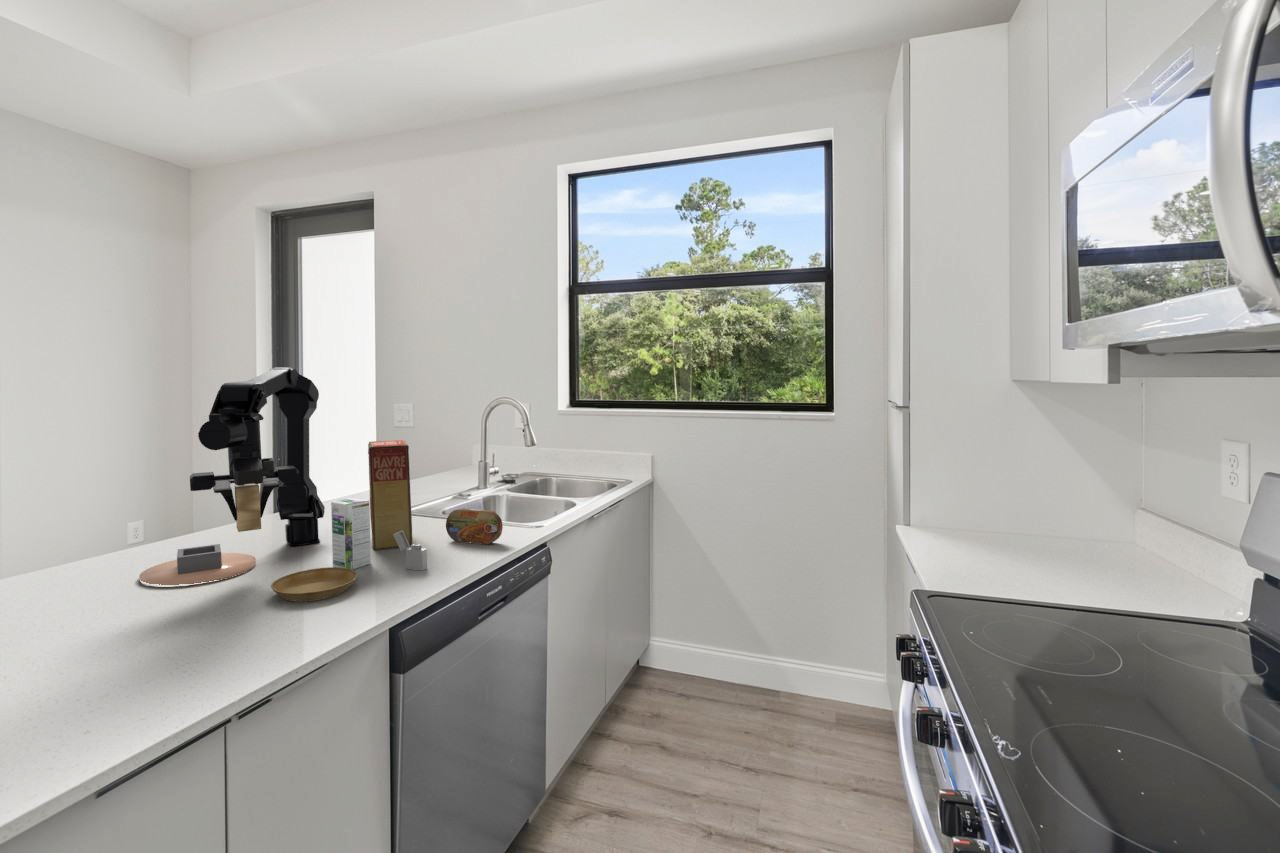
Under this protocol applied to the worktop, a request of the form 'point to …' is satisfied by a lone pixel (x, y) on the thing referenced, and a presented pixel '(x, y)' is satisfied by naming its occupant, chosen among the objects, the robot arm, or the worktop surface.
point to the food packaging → (389, 492)
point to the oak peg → (248, 507)
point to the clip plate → (198, 566)
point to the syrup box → (351, 533)
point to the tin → (474, 526)
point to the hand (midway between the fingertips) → (248, 518)
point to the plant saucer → (314, 584)
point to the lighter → (412, 552)
